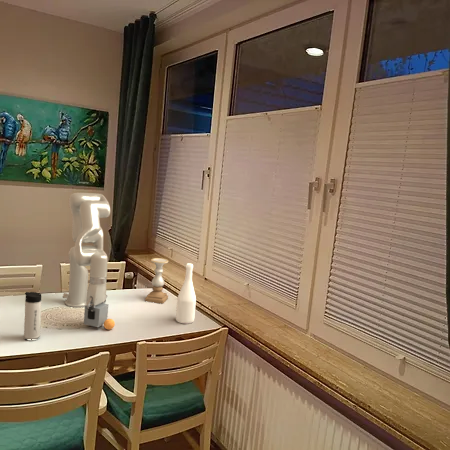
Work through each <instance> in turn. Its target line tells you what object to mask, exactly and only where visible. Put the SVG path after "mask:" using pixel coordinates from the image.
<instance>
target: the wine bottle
mask: <svg viewBox="0 0 450 450" xmlns="http://www.w3.org/2000/svg"><path fill="white" fill-rule="evenodd" d="M193 269H194V264H193V263H191V262H190V263H189V262H188V263H186V264H185V278H184V281H183V283H182V286H181V288H180V291H179V293H178V295H177V301H176V310H175V311H176V312H175V321H176V322H177V323H180V324H187V325H189V324H192V323H193V322H194V321H195V316H196V302H197V297H196V292H195V288H194V283H193Z"/></svg>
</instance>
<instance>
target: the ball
mask: <svg viewBox="0 0 450 450" xmlns="http://www.w3.org/2000/svg"><path fill="white" fill-rule="evenodd" d="M115 326H116V325H115V320H114V319H112V318H107V320H105V322H104V324H103V327H104V329H106V330H108V331H109V330H112V329H114V327H115Z"/></svg>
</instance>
